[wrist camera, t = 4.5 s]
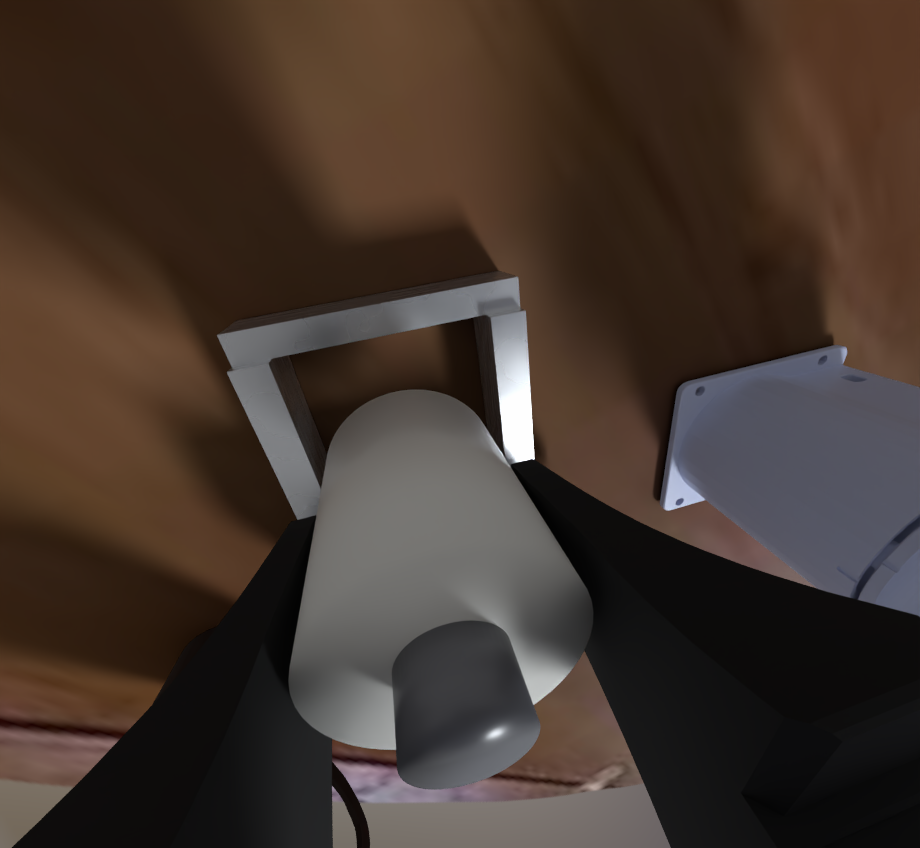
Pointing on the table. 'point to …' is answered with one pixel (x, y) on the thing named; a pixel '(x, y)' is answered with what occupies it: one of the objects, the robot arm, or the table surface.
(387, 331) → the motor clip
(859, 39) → the table surface
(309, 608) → the white bottle
